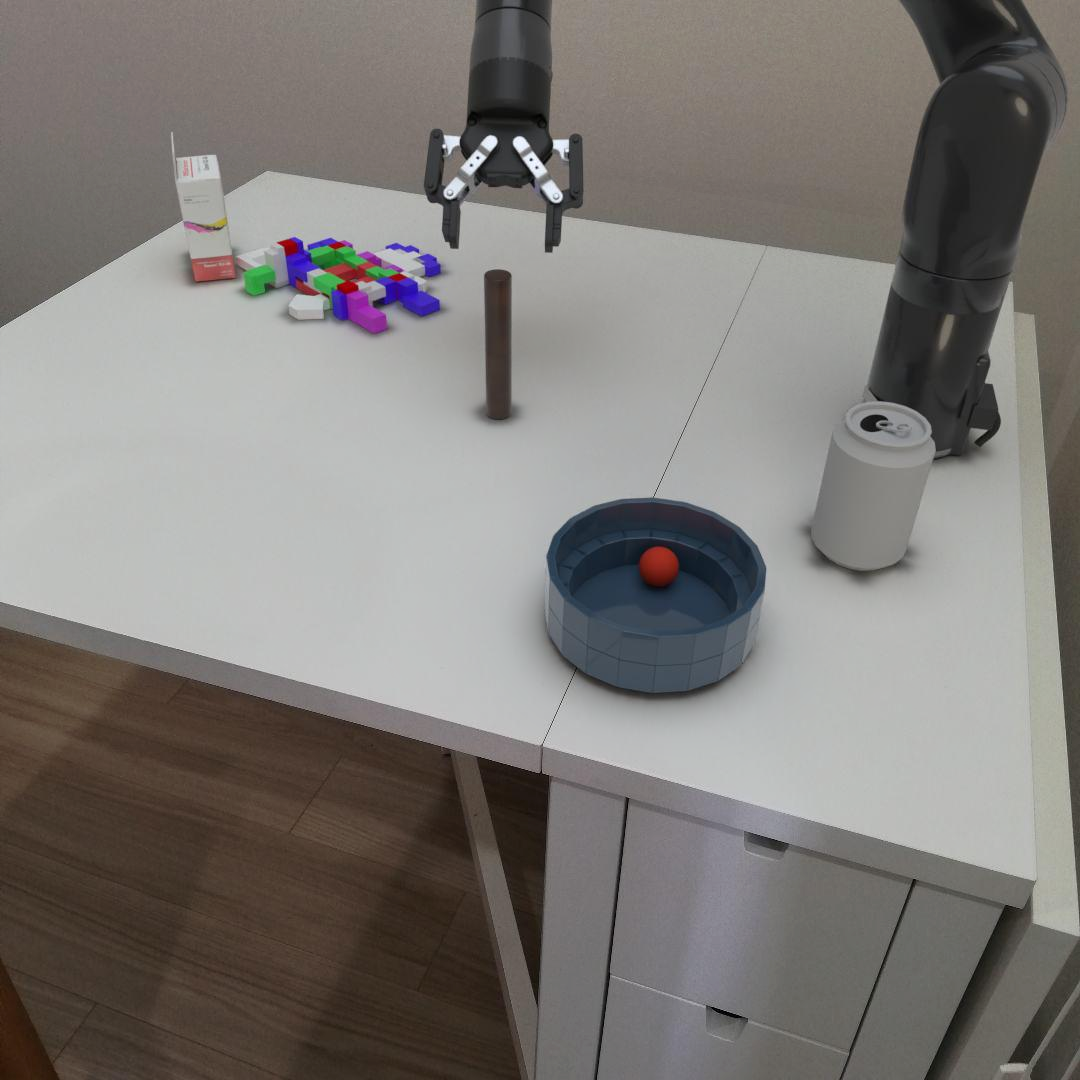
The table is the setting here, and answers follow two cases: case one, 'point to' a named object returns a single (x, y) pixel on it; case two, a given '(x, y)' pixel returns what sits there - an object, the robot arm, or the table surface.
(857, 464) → the can
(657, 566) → the ball
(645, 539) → the bowl
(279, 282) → the building block set
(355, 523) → the table surface
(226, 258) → the ink cartridge box
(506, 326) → the stick
